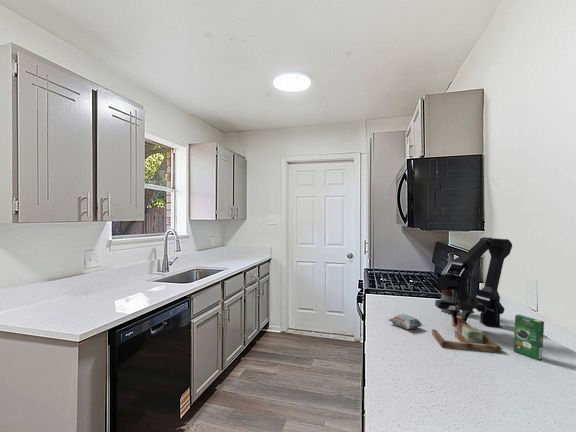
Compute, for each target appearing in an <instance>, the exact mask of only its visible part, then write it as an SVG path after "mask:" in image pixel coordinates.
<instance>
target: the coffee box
mask: <svg viewBox="0 0 576 432" xmlns="http://www.w3.org/2000/svg"><path fill="white" fill-rule="evenodd" d="M514 317H515V318H514V333H513V334H514V335H513V336H514V337H513V338H514V339H513V352H515V353H518V354H521V355H524V356H527V357H528V358H531V359H533V360H537V361H541V360H542V359H543V353H544V352H543V351H544V349H543V348H544V334H545V333H544V332H545V331H544V330H545V329H544V328H545V321H544V320H543V321H542V320H540V319H536V318H532V317H530V316H529V317H528V316H525V315H521V314H516V315H515V316H514Z"/></svg>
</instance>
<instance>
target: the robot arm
mask: <svg viewBox="0 0 576 432" xmlns="http://www.w3.org/2000/svg"><path fill="white" fill-rule="evenodd" d="M512 243H513V242H511V240H510V239H508V238H495V237H494V238H493V237H485V236H484V237H481V238H479V241H477V242H476V243H475V244H474V245H473V246H472V247H471V248H470V249H469V250H468V251H467V252H466V253H465V254H463V255H460V256H458V257H456V258H454V260H453V261H452V262H451V265H450V266H449V268H448V270H447V271H446V273H445V274H442V273H440V276H439V277H438V278H437V280H436V285H437V288H438V289H440V291H442V290H452V292H453V299H452V302H453V303H450V302H447V301H446V300H441V299H435V302H434V306H435V307H436V308H437V309H440V310H441V309H448V310H449V311H450V313H451V314H450V315H451V319H452V318H453V321H454V323H455V325H456V326H457V317H458V315H457V310H456V307H458V308H459V309H460V311H461V317H462V319H463V320H464V321H466V322H467V321H468V318H469V317H470V315H471V314H475V311H474V309H475V310H476V311H477V312H479V313H480V321H479V322H480V323H481V324H483V325H484V326H485V327H494V328H502V325H501V324H500V322H501V315H502V314H504V312H505V307H504V306H503V304H502V303H501V301H500V300H501V296H500V293H499V292H498V289H499V284H500V278H501V274H502V271H503V266H504V261H505V259H506V258H507V257H508V256H509V255H510V254H511V251H512V248H513V244H512ZM487 251H488V252H489V254H490V258H489V259H490V260H489V265H488V269H487V273H486V276H485V277H486V279H485V283H484V286H483V287H482V288H481V289H480V288H479V289H478V290H477V294H476V296H475V298H470V294H469V280H472V279H473V277H472V276H471V275H470V273H471V272H472V271H473V269H474V268H475V263H476V262H477V261H478V260H479V259H480V258H481V257H482V256H483V255H484V254H485V253H486V252H487ZM455 272H456V273H455Z"/></svg>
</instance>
